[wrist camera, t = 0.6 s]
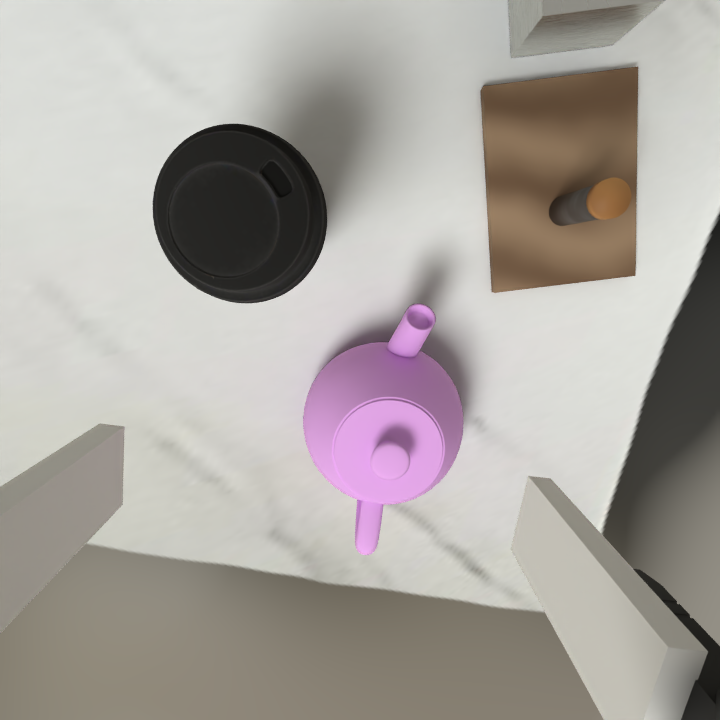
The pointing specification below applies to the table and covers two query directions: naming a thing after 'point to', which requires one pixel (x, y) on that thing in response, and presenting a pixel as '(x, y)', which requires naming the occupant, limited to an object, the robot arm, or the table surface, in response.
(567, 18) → the hollow square block
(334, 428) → the teapot
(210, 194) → the coffee cup
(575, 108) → the keeper
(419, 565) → the table surface
